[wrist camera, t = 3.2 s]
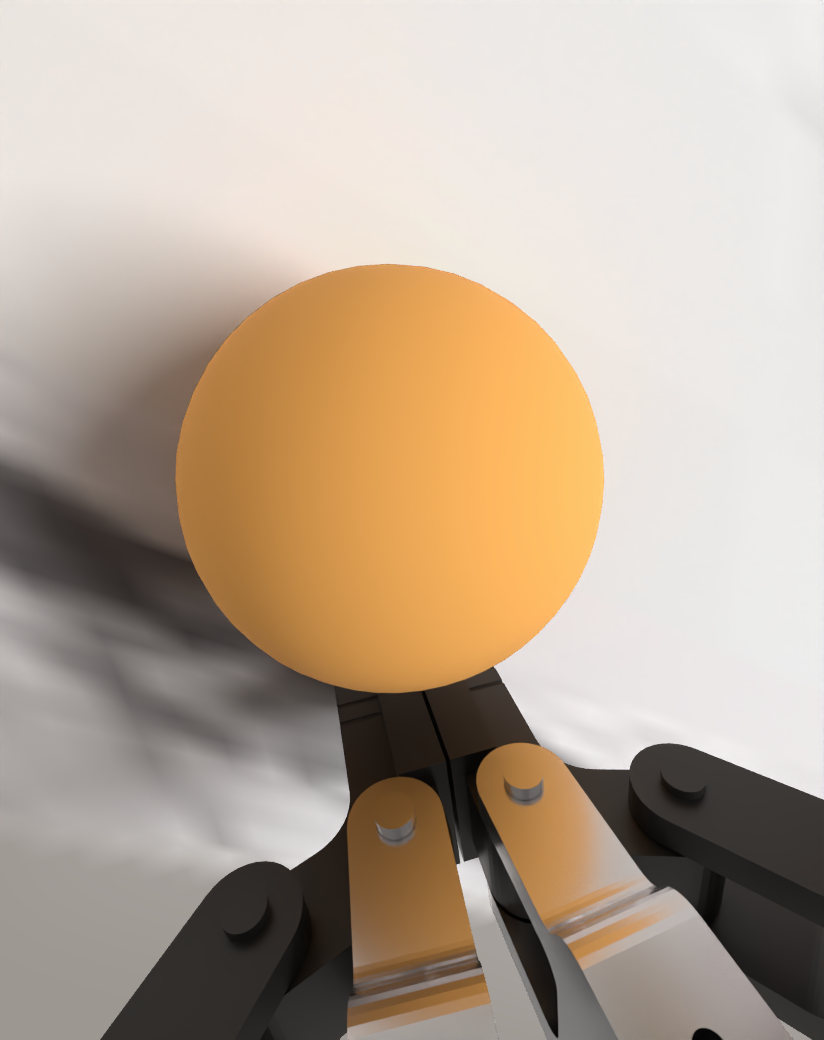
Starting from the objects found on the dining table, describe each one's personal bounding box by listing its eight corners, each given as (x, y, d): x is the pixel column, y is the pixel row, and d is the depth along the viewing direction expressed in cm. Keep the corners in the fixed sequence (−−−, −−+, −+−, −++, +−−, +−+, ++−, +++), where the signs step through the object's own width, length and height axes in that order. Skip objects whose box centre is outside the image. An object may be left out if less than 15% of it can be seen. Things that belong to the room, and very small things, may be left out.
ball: (162, 300, 8) (-6, 299, 4) (494, 252, 9) (741, 197, 4) (250, 599, 11) (224, 860, 6) (513, 540, 11) (692, 722, 7)
